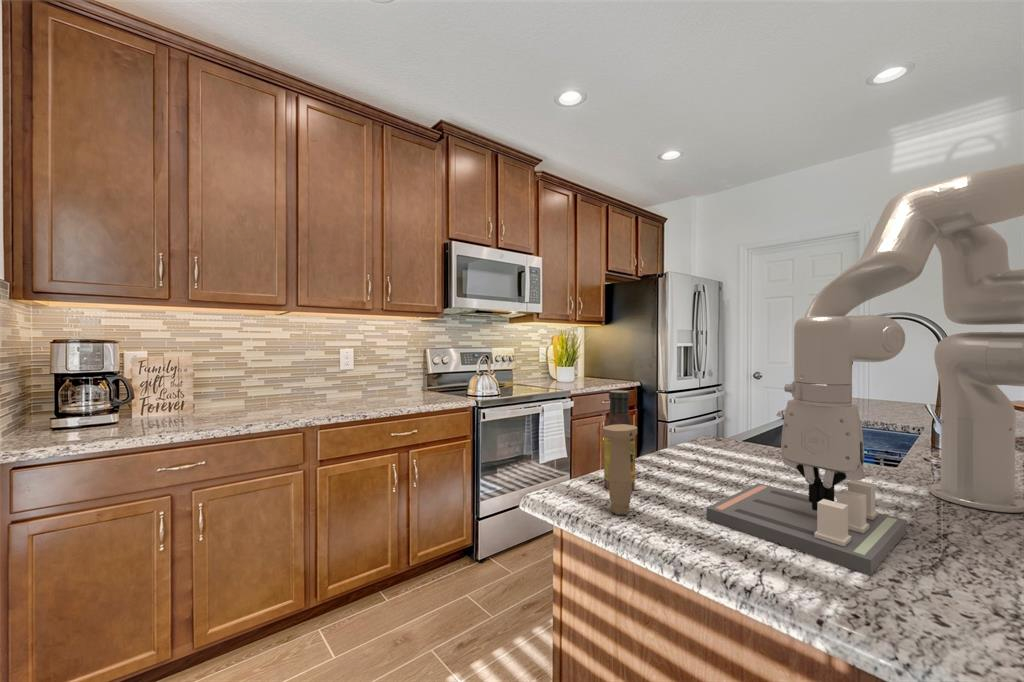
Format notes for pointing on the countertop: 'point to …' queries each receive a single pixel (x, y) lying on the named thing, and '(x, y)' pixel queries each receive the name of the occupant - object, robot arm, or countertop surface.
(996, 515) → the countertop surface
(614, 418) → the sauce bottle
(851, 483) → the block
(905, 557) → the countertop surface
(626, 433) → the handle
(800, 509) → the board
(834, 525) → the block
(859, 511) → the block
